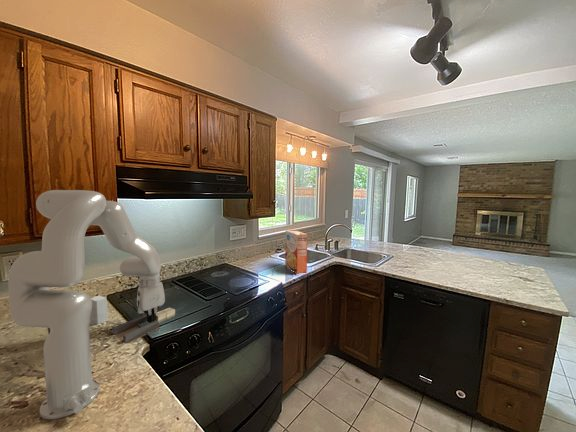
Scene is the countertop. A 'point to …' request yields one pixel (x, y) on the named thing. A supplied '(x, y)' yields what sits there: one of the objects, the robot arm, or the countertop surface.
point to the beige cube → (169, 312)
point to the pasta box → (296, 251)
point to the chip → (161, 316)
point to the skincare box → (98, 310)
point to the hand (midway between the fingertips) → (151, 321)
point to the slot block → (134, 329)
